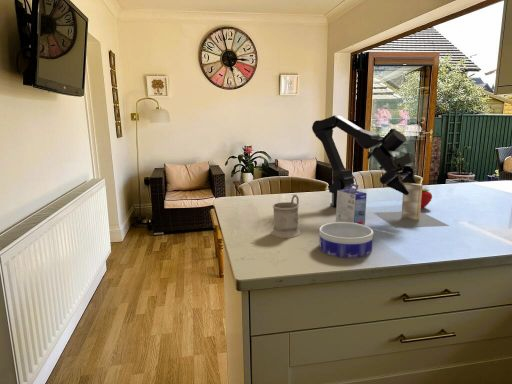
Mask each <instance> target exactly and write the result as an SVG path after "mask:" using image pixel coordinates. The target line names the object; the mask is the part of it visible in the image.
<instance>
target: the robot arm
mask: <svg viewBox="0 0 512 384" xmlns="http://www.w3.org/2000/svg"><path fill="white" fill-rule="evenodd" d="M336 128H338V129H339V130H341V131H343V132H344V133H346V134H348V135H349V136H351V137H352V138H354V140H355V141H356V143H357V144H359V145H360V147H361V148H363V149H365V150H369V149H370V151H367V156H366V157H367V158H366V159H368V160H370V159H373V158H374V159H375V161H376V162H377V163H378V164H379V169H380V170H383V171H384V174H382V176H380V178H379V182H380V183H381V185H382V186H384V185H385V187H389V188H390V189H392V190H395V191H397V192H398V193H401V194H402V195H403V194H405V195H408V194H409V192H408V191H407V189H406V187H405V186H404V183H414V184H418V182H417V179H416V177H415V174H416V173H417V168H416V166H414V165H413V164H411V163H416V162H417V160H416V157H417V156H416V155H415V154H414V153H412V152H411V151H408V152H407V153H404V155H402V156H400V157H398V156H394V155H393V154H392V153H391V152H393V153H395V152H396V151H397V150H398V149H400V147H402V146H403V145H404V144H405V143H406V142H407V137H406V136H405V134H404V133H401V132H400V131H398V130H397V129H396V128H391V129H390V130H389V131H388V132H387V133H386V135H385V136H381V135H380V134H379V133H377V132H374V131H370V130H366V129H363V128H362V127H360V126H358V125H356V124H355V123H353V122H351V121H349V120H348V119H346V118H344V117H343V116H342V115H338V114H337V115H336V114H335V115H331V116H329V117H326V118H324V119H319V120H315V121H313V123H312V126H311V129H312V132H313V134H314V136H315V137H316V138H317V139H318V140H319V141H320V142H321V144H322V147H323V149H324V151H325V152H324V153H325V154H326V157H327V159H328V161H329V164H330V166H331V169H332V183H331V184H330V185H329V186H328V192H329V194H331V203H330V205H331V206H332V207H333V208H335V209H336V208H337V190H342V189H349V187H350V186H351V184H355V176H354V175H353V171H352V169H346V167H345V166H344V163H343V161H342V158H341V156H340V154H339V153H340V152H339V151H338V149H337V145H336V143H335V141H334V138H333V134H334V130H333V129H336ZM371 149H373V150H371ZM351 188H353V186H352V187H351Z"/></svg>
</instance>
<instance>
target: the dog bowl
mask: <svg viewBox="0 0 512 384" xmlns="http://www.w3.org/2000/svg"><path fill="white" fill-rule="evenodd" d="M318 233H319V235H318V237H319V239H318V243H319V245H318V246H319V249H320V251H321V252H322V253H324V254H326V255H329V256H332V257H335V258H343V259H357V258H363V257H367V256H369V255H370V254H372V252H373V244H374V243H373V242H374V230H373V229H372V228H371V227H369V226H367V225H361V224H357V223H350V222H336V221H335V222H328V223H325V224H322V225H321V226H320V227H319V229H318Z"/></svg>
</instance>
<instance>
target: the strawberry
mask: <svg viewBox="0 0 512 384" xmlns="http://www.w3.org/2000/svg"><path fill="white" fill-rule="evenodd" d="M432 199H433V195H432V193H431V192H430V189H428V188H423V187H422V198H421V209H424V208H425V207H427V206H428V205H429V203H430V202H431V201H432Z"/></svg>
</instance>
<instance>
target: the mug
mask: <svg viewBox="0 0 512 384" xmlns="http://www.w3.org/2000/svg"><path fill="white" fill-rule="evenodd" d="M291 196H292V197H291V201H290V202H287V201H286V202H285V201H283V202H276V203H273V204H272V209H273V228H272V230H271V232H270V234H271V236H273V237H276V238H281V239H291V238H297V237H299V236H300V235H301V234H302V232H301V231H300V230H299V206H300V204H299V201H300V200H299V197H298V194H297V193H296V194H295V193H293V194H291ZM295 198H296V203H295V202H294V199H295Z"/></svg>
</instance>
